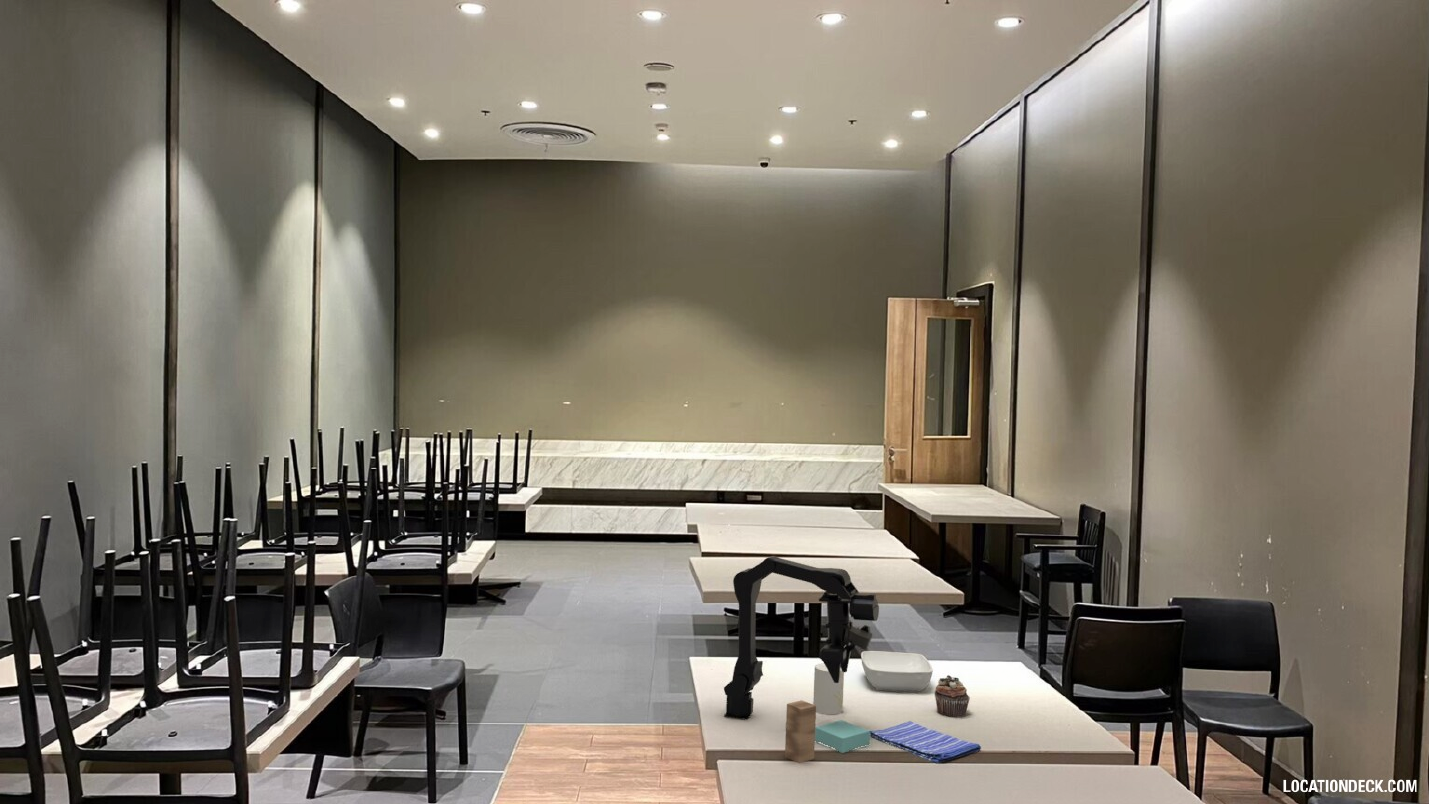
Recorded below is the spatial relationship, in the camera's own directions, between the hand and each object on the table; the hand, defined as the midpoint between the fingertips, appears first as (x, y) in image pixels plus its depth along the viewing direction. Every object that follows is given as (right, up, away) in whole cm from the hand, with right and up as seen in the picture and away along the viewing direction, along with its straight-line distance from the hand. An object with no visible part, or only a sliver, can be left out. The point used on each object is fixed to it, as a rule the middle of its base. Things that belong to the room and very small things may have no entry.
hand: (840, 677), depth 275 cm
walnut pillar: (-12, -14, -19) cm, 27 cm away
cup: (-1, -14, +18) cm, 23 cm away
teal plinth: (-1, -15, -8) cm, 17 cm away
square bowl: (+22, -14, +45) cm, 52 cm away
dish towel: (+21, -16, -6) cm, 27 cm away
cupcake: (+33, -15, +19) cm, 41 cm away
